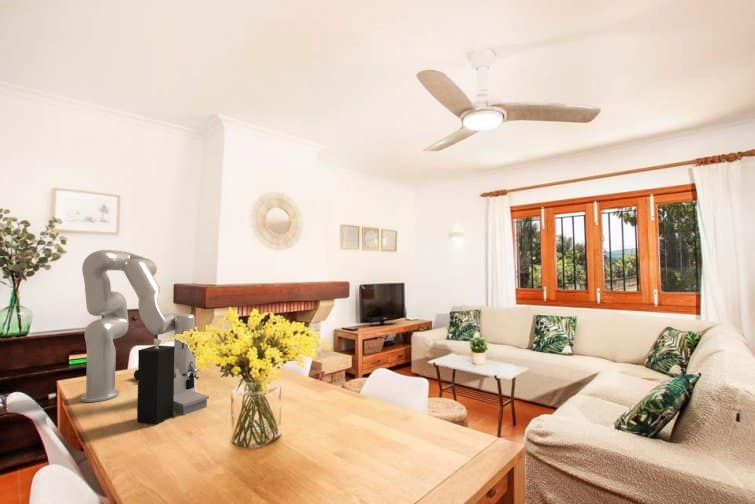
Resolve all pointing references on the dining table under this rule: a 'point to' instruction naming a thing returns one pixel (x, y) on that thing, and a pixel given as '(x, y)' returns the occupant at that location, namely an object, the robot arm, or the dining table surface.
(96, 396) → the robot arm
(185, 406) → the podium
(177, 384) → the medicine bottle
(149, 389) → the tall black pillar
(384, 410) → the dining table surface
